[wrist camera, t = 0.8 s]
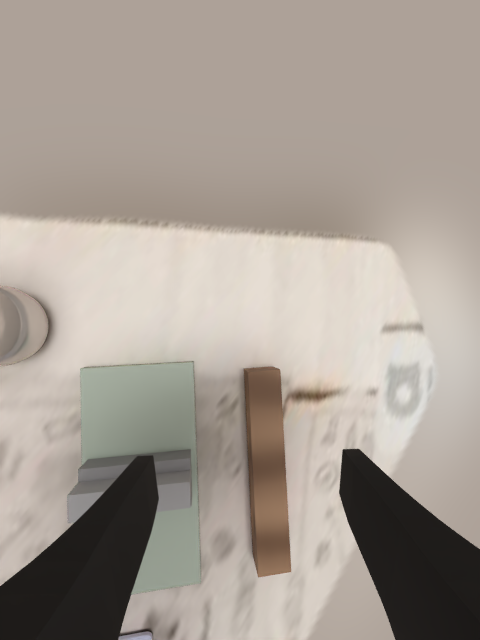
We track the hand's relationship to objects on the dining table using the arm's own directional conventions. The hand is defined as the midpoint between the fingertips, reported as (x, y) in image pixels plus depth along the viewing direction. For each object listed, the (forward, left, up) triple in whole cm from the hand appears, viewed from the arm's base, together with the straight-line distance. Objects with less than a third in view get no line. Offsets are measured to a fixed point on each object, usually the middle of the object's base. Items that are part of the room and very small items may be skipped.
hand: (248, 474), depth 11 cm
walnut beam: (-7, -4, -18) cm, 20 cm away
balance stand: (-7, +7, -18) cm, 20 cm away
